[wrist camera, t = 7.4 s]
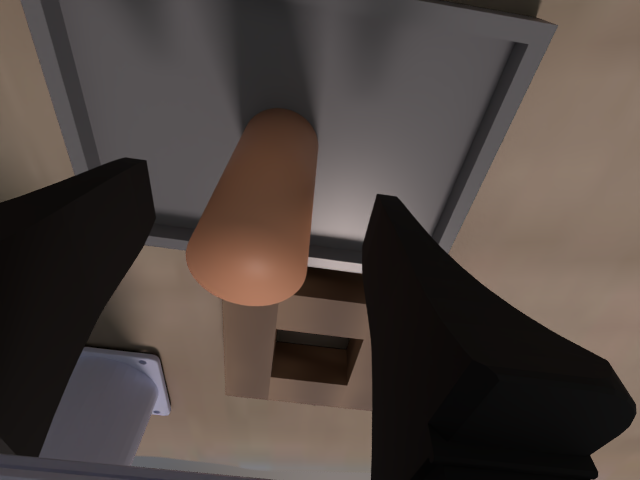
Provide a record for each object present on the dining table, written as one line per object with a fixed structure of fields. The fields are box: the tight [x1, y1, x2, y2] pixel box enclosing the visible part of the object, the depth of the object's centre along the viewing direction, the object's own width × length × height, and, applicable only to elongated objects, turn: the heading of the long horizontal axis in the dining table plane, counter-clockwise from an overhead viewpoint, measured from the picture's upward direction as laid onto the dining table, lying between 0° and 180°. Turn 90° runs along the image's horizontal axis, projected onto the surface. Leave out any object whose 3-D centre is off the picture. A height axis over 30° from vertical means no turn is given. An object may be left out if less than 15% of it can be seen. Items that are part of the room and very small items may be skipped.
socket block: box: [222, 266, 372, 411], centre depth 21 cm, size 10×10×2 cm
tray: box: [21, 0, 558, 273], centre depth 14 cm, size 16×11×2 cm
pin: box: [186, 108, 318, 306], centre depth 12 cm, size 3×3×7 cm
